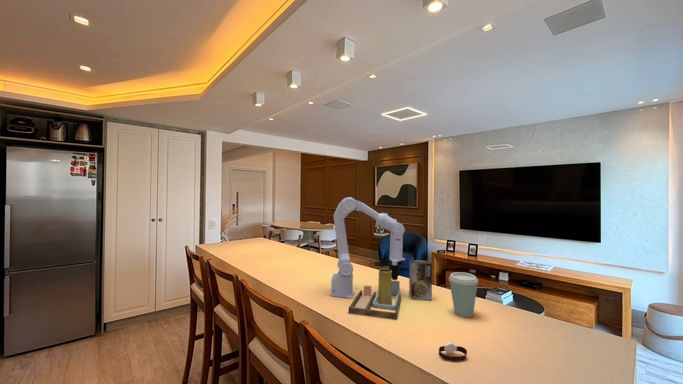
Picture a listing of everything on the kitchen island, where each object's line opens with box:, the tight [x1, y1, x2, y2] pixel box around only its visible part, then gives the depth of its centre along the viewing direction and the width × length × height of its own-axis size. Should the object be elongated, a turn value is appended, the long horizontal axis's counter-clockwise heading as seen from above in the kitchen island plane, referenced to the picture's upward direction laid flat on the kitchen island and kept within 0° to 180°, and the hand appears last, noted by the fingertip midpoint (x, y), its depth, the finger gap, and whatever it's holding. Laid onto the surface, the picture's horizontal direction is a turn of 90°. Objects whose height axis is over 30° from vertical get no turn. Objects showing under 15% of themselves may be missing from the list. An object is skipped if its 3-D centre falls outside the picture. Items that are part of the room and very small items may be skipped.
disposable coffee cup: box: [448, 271, 479, 318], centre depth 109 cm, size 11×11×15 cm
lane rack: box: [348, 289, 402, 321], centre depth 115 cm, size 18×22×2 cm
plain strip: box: [355, 284, 373, 309], centre depth 117 cm, size 5×20×5 cm, turn 164°
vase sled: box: [371, 280, 401, 311], centre depth 122 cm, size 9×20×6 cm, turn 164°
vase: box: [376, 268, 393, 305], centre depth 117 cm, size 6×6×14 cm
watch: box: [438, 342, 468, 362], centre depth 79 cm, size 8×5×4 cm, turn 92°
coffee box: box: [408, 259, 433, 301], centre depth 127 cm, size 9×6×16 cm
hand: (395, 277), depth 131 cm, fingers open, 7 cm apart
